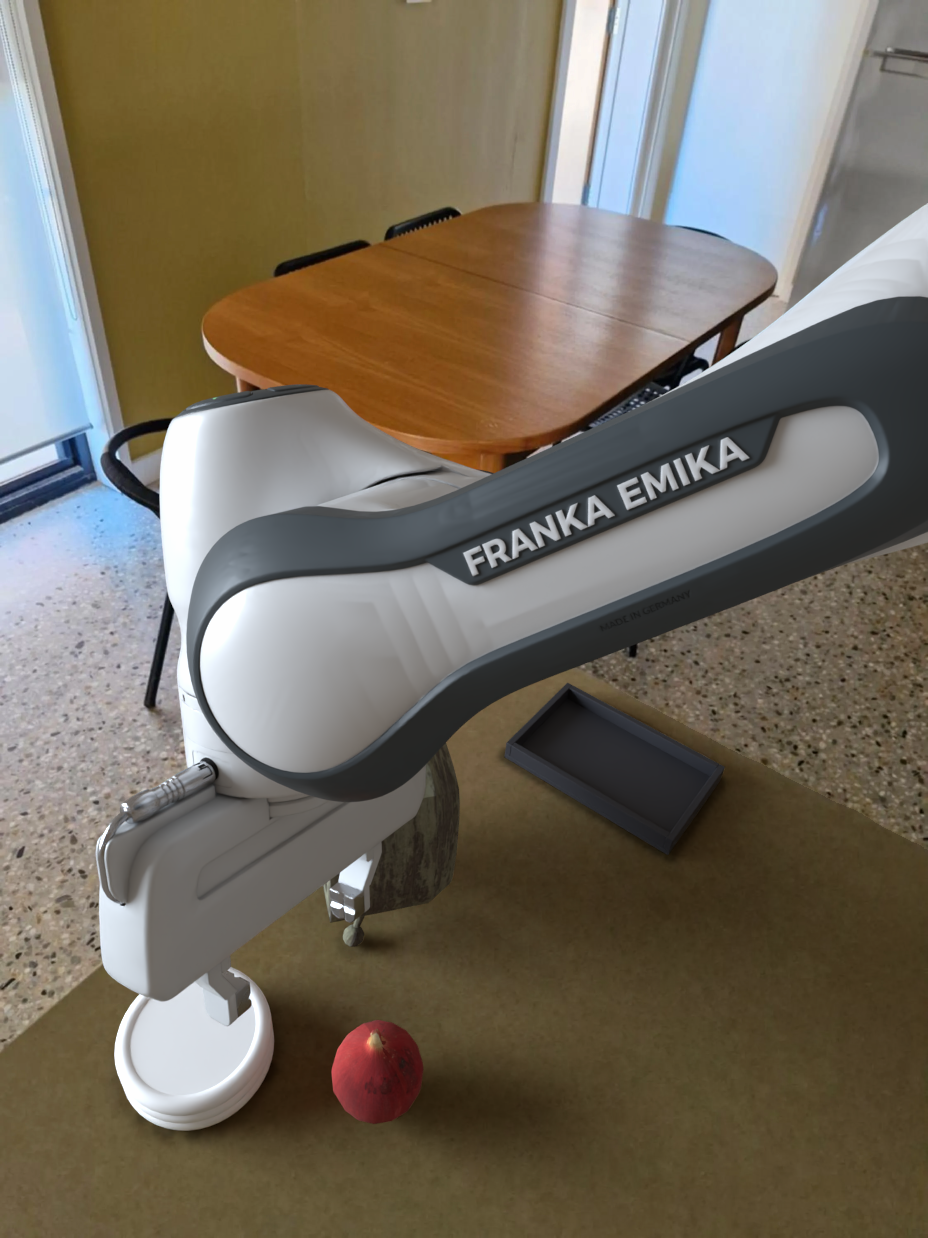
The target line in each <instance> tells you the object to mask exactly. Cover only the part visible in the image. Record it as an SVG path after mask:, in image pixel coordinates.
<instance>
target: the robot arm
mask: <svg viewBox="0 0 928 1238" xmlns="http://www.w3.org/2000/svg"><path fill="white" fill-rule="evenodd" d="M160 457H161V458H160V468H159V520H160V521H159V522H160V531H161V532H160V535H161V547H162V558H163V567H164V575H165V585H166V591H167V596H168V599H169V601H170V603H171V605H172V608H173V610H174V612H175V615H176V617H177V621H178V624H179V629H180V650H179V655H178V660H177V666H176V681H177V683H176V684H177V691H178V699H179V700H178V701H179V710H180V717H181V726H182V735H183V745H184V754H185V762H186V768H185V769H183V770H181V771H179V772H177V773H175V774H173V775H172V776H171V777H169V778H167V779H166V780H165V781H163V782H161V783H160V784H158V785H155V786H154V787H152V788H150V789H149V788H147V789H144V790H142V791H139V792H137V793H135V794H133V795H132V796H130V797H129V798H127V799H126V800H124V801H123V802H122V803H121V804H120V806H119V813H118V814H117V815H116V816H115V817H114V818H113V819H112V820H111V821H110V823H109V824H107V827H106V828H105V829H104V832H103V834H101V835H100V837H99V838H98V839H97V842H96V846H95V860H96V861H95V862H96V867H97V874H98V881H99V891H98V893H99V894H98V895H99V896H98V918H99V919H98V920H99V942H100V955H101V961H102V965H103V968H104V970H105V972H106V973H107V974H108V975H109V976H110V977H111V978H112V979H113V980H115V981H116V982H117V983H119V984H120V985H122V986H124V987H125V988H127V989H128V990H130V991H132V992H134V993H136V994H138V995H143V996H145V997H148V998H151V999H154V1000H157V1001H161V1002H164V1001H168V1000H170V999H172V998H174V997H175V996H177V995H178V994H179V993H181V992H182V991H183V990H185V989H186V988H187V987H188V986H190V985H191V984H192V983H194V982H195V983H196V984H198V985H199V986H200V987H202V988H203V994H204V1002H205V1009H206V1011H207V1014H208V1015H209V1016H210V1017H211V1018H212V1019H214V1020H216V1021H218V1022H219V1023H221V1024H223V1025H225V1026H229V1025H231V1024H232V1023H233V1022H234V1021H235V1020H237V1018H239V1017H240V1016H241V1015H242V1014H243V1013H245V1012H246V1011H247V1010H248V1009H249V1008H250V1007H251V1006H252V1001H251V1000H250V999H249V996H250V993H251V990H250V982H249V981H247V980H245V979H243V978H241V977H235V976H234V974H233V973H231V972H229V971H227V970H228V969H230V967H232V960H231V955H232V954H234V953H235V952H236V951H238V950H240V948H242V947H243V946H244V945H246V944H247V943H248V942H250V941H251V940H252V939H254V938H255V937H257V936H258V935H260V934H261V933H262V932H263V931H264V930H266V929H267V928H268V927H270V926H271V925H273V924H274V923H276V921H278V920H279V919H281V918H282V917H283V916H285V915H286V914H287V913H289V912H290V911H291V910H292V909H294V908H295V907H296V906H298V905H299V904H300V903H302V902H304V900H306V899H307V898H308V897H310V896H311V895H313V894H314V893H316V892H317V891H318V890H319V889H320V888H323V885H324V884H326V883H327V882H328V881H330V880H331V879H332V878H334V877H335V876H336V875H338V874H339V873H340V876H339V880H338V881H339V882H338V883H336V884H335V885H334V886H333V887H331V888H330V899H331V900H332V903H331V911H332V913H333V915H335V916H336V917H337V918H340V919H345V920H344V921H345V922H347V923H349V924H351V923H354V921H355V920H356V919H357V918H359V917H360V916H361V915H362V914H364V913H365V912H366V911H367V910H368V909H369V908H370V893H369V885H371V882H372V879H373V876H374V873H375V871H376V868H377V865H378V862H379V859H380V856H381V853H382V843H381V841H383V840H384V839H385V838H387V837H388V836H389V835H391V834H392V833H393V832H395V831H396V830H397V829H399V828H400V827H401V826H403V825H404V824H405V823H407V822H408V821H410V820H411V819H412V818H414V817H415V816H416V814H417V812H418V810H419V808H420V805H421V803H422V800H423V797H424V794H425V787H426V764H427V763H428V762H429V761H430V760H431V759H432V757H433V756H434V755H435V754H436V753H437V752H438V751H439V750H440V749H441V747H442V746H443V745H444V744H445V743H446V744H447V742H448V741H449V740H450V739H451V738H452V737H453V736H454V735H455V734H456V733H457V732H458V731H459V730H460V729H461V728H462V727H463V726H464V725H465V724H466V723H467V722H469V721H470V720H471V719H472V718H474V717H475V716H476V715H478V714H479V713H480V712H482V711H483V710H485V709H486V708H488V707H489V706H491V705H492V704H494V703H496V702H498V701H499V700H502V699H503V698H504V697H507V696H509V695H511V694H513V693H515V692H517V691H520V690H522V689H524V688H527V687H529V686H532V685H534V684H536V683H539V682H541V681H544V680H546V679H549V678H552V677H555V676H557V675H559V674H562V673H565V672H567V671H570V670H572V669H576V668H578V667H580V666H583V665H586V664H588V663H591V662H593V661H596V660H598V659H602V658H604V657H606V656H609V655H611V654H615V653H617V652H620V651H622V650H625V649H627V648H630V647H632V646H635V645H638V644H640V643H644V642H645V641H648V640H651V639H653V638H657V637H659V636H661V635H664V634H666V633H669V632H671V631H674V630H676V629H679V628H683V627H685V626H687V625H689V624H690V625H691V624H692V623H695V622H697V621H700V620H703V619H706V618H708V617H710V616H713V615H716V614H718V613H721V612H723V611H726V610H728V609H731V608H734V607H736V606H739V605H742V604H744V603H747V602H749V601H752V600H755V599H757V598H760V597H762V596H766V595H767V594H770V593H773V592H775V591H778V590H780V589H783V588H785V587H788V586H790V585H793V584H795V583H798V582H800V581H803V580H806V579H809V578H812V577H814V576H817V575H819V574H822V573H826V572H828V571H830V570H831V571H832V570H833V569H836V568H839V567H843V566H847V565H851V564H855V563H857V562H861V561H865V560H869V559H872V558H876V557H880V556H885V555H888V554H891V553H895V552H899V551H902V550H906V549H909V548H913V547H916V546H920V545H924V544H928V202H926V204H924V205H923V206H921V207H919V208H918V209H917V210H915V211H914V212H913V213H911V214H909V215H908V216H907V217H905V218H904V219H902V220H901V221H900V222H898V223H897V224H896V225H894V226H893V227H891V228H890V229H889V230H887V231H886V232H885V233H883V234H882V235H881V236H879V237H878V238H877V239H875V240H874V241H873V242H871V243H870V244H868V245H867V246H865V248H863V249H862V250H861V251H859V252H858V253H857V254H856V255H854V256H852V257H851V258H850V259H849V260H847V261H846V262H845V263H844V264H843V265H841V266H840V267H839V268H837V269H836V270H835V271H834V272H832V274H830V275H829V276H828V277H827V278H825V279H824V280H823V281H822V282H821V283H819V284H818V285H816V287H814V288H813V289H812V290H811V291H810V292H808V293H807V294H806V295H805V296H804V297H803V298H802V299H800V300H799V301H798V302H797V303H795V304H794V305H793V306H792V307H791V308H789V309H788V310H786V312H785V313H783V314H781V316H779V317H778V318H777V319H775V320H774V321H773V322H772V323H770V324H769V325H768V326H767V327H765V328H764V329H763V330H762V331H760V332H759V333H758V334H756V335H755V336H753V337H752V338H751V339H750V340H748V341H747V342H746V343H744V344H743V345H741V346H740V347H739V348H736V349H735V350H734V351H732V352H731V353H730V354H728V355H726V356H725V357H724V358H722V359H721V360H719V361H717V362H716V363H714V364H713V365H712V366H710V367H708V368H706V369H705V370H703V371H702V372H700V373H698V374H697V375H695V376H694V377H691V378H690V379H689V380H687V381H685V382H683V383H682V384H680V385H678V386H676V387H675V388H673V389H671V390H669V391H667V392H666V393H664V394H662V395H660V396H658V397H656V398H654V399H652V400H650V401H648V402H646V403H644V404H642V405H640V406H638V407H636V408H634V409H631V410H629V411H627V412H625V413H622V414H620V415H618V416H616V417H613V418H612V419H609V420H607V421H605V422H603V423H601V424H598V425H596V426H594V427H592V428H590V429H587V430H586V431H583V432H581V433H579V434H577V435H574V436H573V437H570V438H568V439H565V440H563V441H561V442H559V443H557V444H554V445H553V446H551V447H548V448H546V449H543V450H542V451H540V452H537V453H535V454H533V455H531V456H529V457H526V458H524V459H522V460H519V461H518V462H515V463H514V464H511V465H509V466H507V467H505V468H502V469H500V470H498V471H496V472H492V471H489V470H483V469H476V468H473V467H469V466H467V465H464V464H461V463H458V462H456V461H453V460H449V459H446V458H442V457H441V456H438V455H435V454H432V453H429V452H427V451H425V450H422V449H421V448H420V449H419V448H418V447H415V446H413V445H410V444H408V443H407V442H404V441H402V440H400V439H399V438H396V437H394V436H393V435H391V434H389V433H387V432H385V431H383V430H381V429H380V428H378V427H376V426H375V425H373V424H371V423H370V422H369V421H367V420H365V419H364V418H362V416H360V415H359V414H357V412H355V411H354V410H353V409H352V408H351V407H350V406H349V405H348V404H347V402H345V400H343V398H342V397H341V396H340V395H339V394H338V393H336V392H335V391H334V390H332V389H329V388H327V387H323V386H320V385H318V384H306V383H303V384H302V383H301V384H300V383H299V384H298V383H297V384H285V385H277V386H270V387H267V388H263V389H257V390H245V391H238V392H233V393H229V394H224V395H219V396H214V397H209V398H206V399H202V400H200V401H197V402H195V403H193V404H191V405H188V406H187V407H185V408H184V409H183V410H182V411H181V412H180V413H179V414H177V415H176V416H175V417H174V418H172V419H171V421H170V423H169V425H168V428H167V430H166V433H165V437H164V441H163V445H162V450H161V456H160Z"/></svg>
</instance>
